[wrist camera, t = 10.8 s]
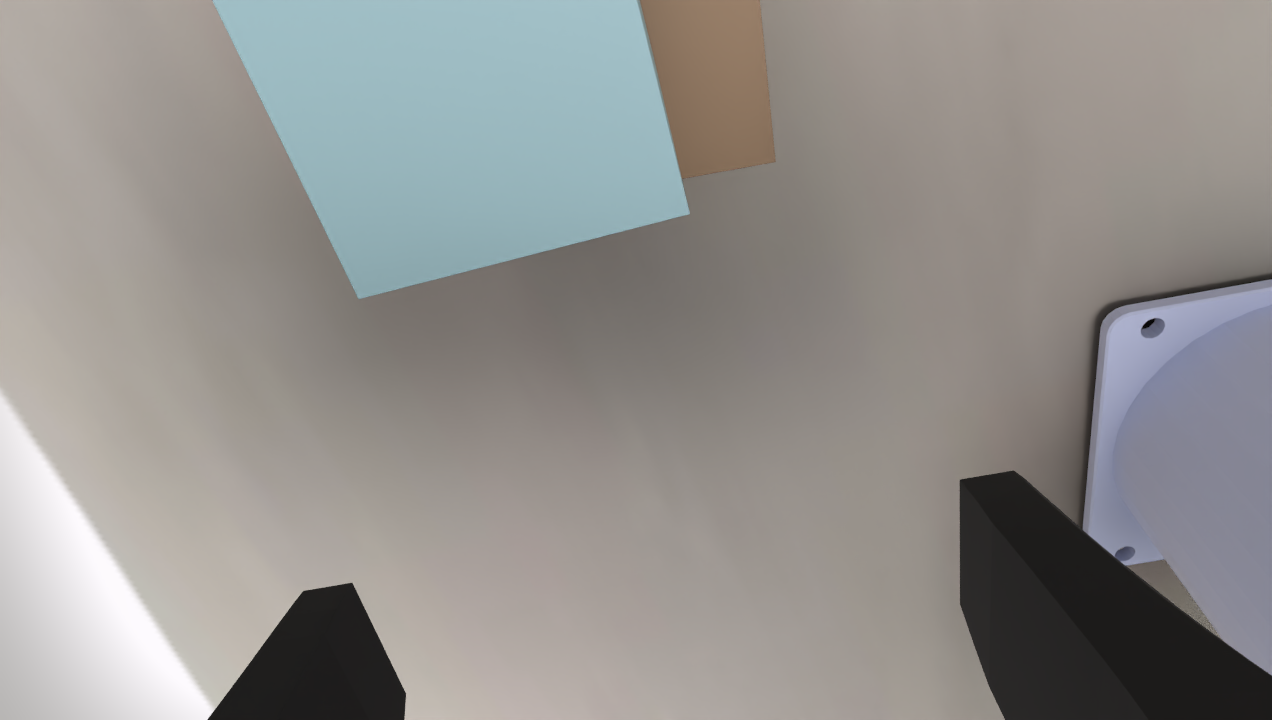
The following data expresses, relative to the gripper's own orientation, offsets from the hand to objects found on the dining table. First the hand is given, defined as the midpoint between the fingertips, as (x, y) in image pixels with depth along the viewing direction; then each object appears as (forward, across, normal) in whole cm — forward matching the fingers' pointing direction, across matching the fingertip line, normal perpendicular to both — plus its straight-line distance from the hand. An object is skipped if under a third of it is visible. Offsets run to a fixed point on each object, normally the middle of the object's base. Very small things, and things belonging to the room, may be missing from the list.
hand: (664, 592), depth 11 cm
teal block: (+8, +1, -6) cm, 10 cm away
